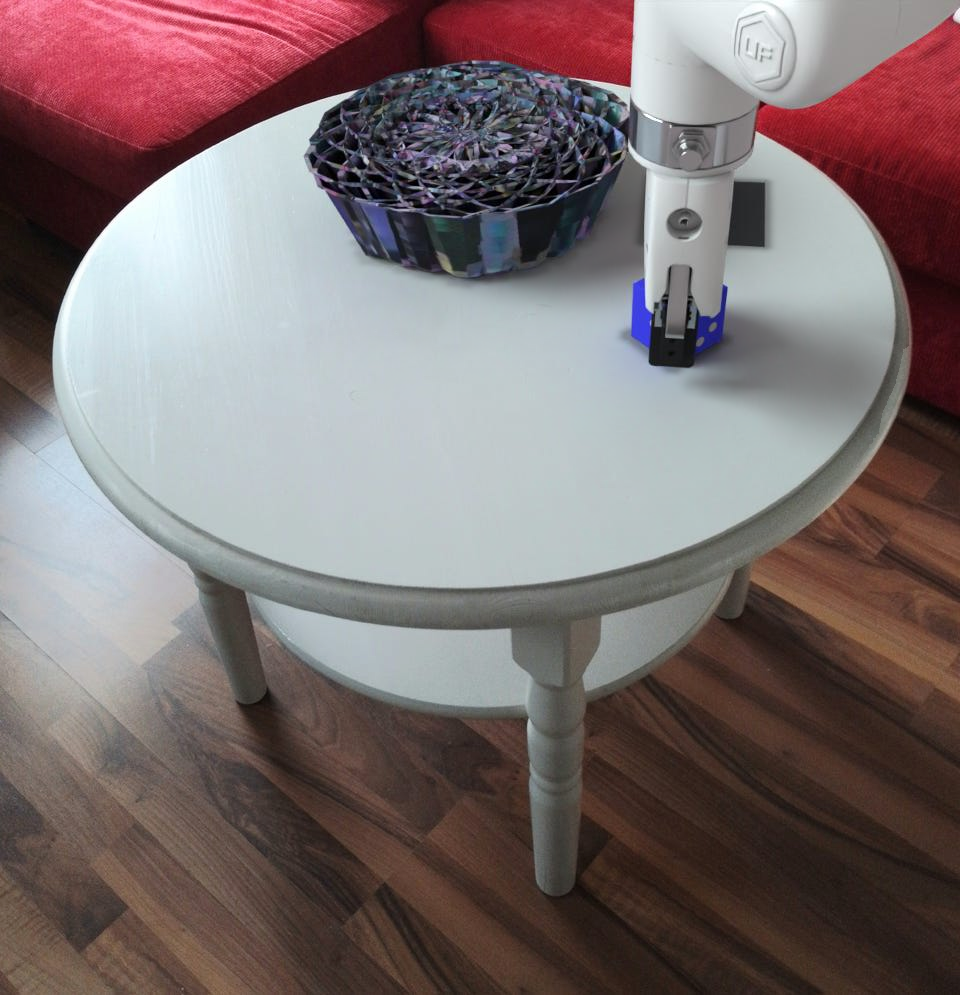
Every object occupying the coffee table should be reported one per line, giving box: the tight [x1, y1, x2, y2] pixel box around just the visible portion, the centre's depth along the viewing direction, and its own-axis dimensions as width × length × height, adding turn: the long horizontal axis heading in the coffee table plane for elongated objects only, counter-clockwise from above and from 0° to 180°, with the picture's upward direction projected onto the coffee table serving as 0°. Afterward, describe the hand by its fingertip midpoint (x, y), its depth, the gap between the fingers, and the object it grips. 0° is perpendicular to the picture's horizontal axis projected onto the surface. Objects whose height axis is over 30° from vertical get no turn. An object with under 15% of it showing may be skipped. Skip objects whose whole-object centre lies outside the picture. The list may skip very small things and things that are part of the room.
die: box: [630, 277, 729, 356], centre depth 82 cm, size 5×5×5 cm
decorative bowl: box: [303, 60, 630, 278], centre depth 95 cm, size 26×28×10 cm
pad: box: [727, 181, 766, 248], centre depth 96 cm, size 10×10×1 cm
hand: (671, 359), depth 79 cm, fingers closed
